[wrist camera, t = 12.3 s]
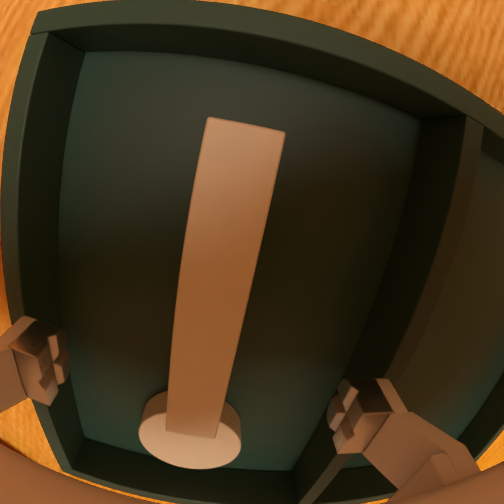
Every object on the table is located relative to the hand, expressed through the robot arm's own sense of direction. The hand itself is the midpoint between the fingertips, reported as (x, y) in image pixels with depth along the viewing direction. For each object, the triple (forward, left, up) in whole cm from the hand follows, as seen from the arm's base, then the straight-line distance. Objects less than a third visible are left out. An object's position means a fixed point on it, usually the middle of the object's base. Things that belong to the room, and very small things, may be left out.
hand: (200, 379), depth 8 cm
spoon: (0, 0, -3) cm, 3 cm away
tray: (0, +6, -3) cm, 7 cm away
